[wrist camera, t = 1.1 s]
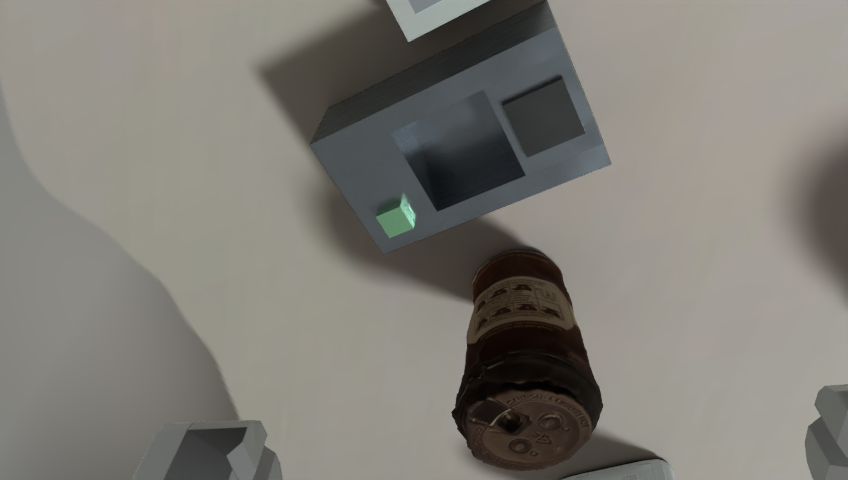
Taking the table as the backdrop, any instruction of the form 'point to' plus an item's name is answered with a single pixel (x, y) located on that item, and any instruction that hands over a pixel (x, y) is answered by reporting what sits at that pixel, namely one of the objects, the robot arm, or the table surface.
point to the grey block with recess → (462, 132)
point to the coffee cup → (525, 368)
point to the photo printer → (631, 472)
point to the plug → (422, 4)
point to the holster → (429, 15)
